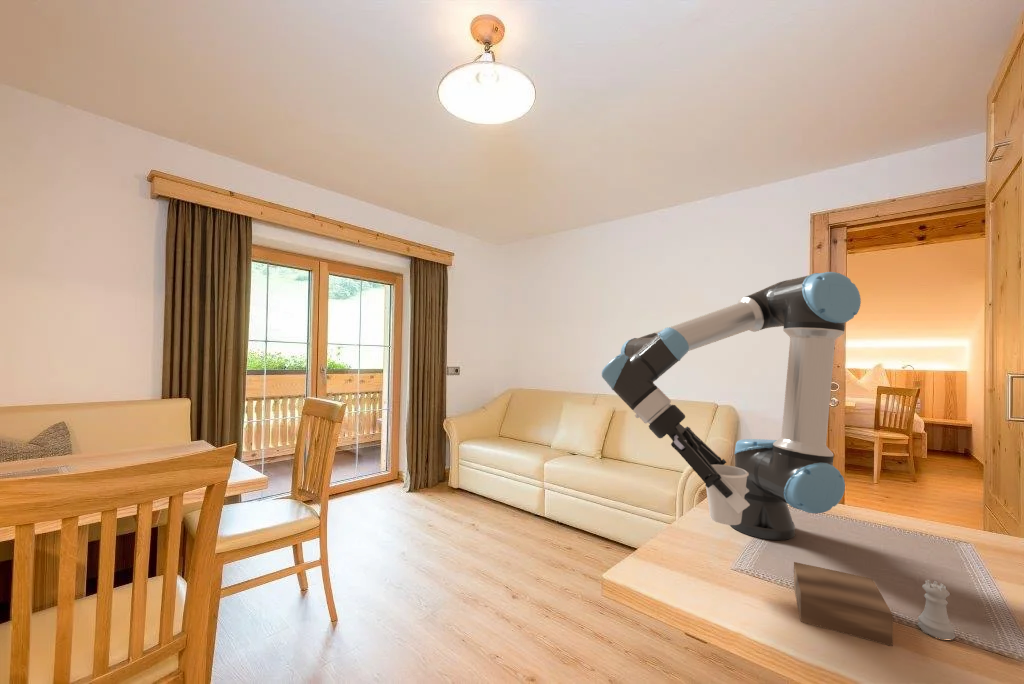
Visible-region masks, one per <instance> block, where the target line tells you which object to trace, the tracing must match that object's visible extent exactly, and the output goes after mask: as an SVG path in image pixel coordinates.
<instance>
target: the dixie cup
mask: <svg viewBox="0 0 1024 684" xmlns="http://www.w3.org/2000/svg"><path fill="white" fill-rule="evenodd" d="M712 467H713V468H714V469H715V470H716V471H717V473H718V474H719V475H720V476H721V477H722V476H723V477H724V478H725V479H726V480H727V481H728V482H729V483H730V484H731V485H732V486H733V487H734V488H735V489H736V491H737V492H738V493H739V494H740V495H741V496H742V497H743V498H744V496H745V489H746V482H747V476H748V475H749V473H748V472H747V471H746V470H744V469H741V468H738V467H735V465H734V466H733V465H728V464H724V465H717V464H713V465H712ZM710 475H711V474H710ZM705 489H706V497H707V505H708V513H709V518H710V519H711V520H712V521H713V522H715V523H718V524H722V525H727V526H730V525H738V524H740V523H741V519H742V511H741V512H740V513H739V514H738V513H737V512H736V511H735V510H734V509H733V508H732V507H731V506H730V504H729V503H728V502H727V501H726V500H725V499H724V498H723V497H722V496H721V495H720V494H719V493H718V492H717V491H716V490H715V489H714V488H713V487H712V486H710V487H709V488H708V487H706V486H705Z"/></svg>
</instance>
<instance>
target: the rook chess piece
mask: <svg viewBox="0 0 1024 684" xmlns="http://www.w3.org/2000/svg"><path fill="white" fill-rule="evenodd" d="M924 582H925V583H923V584H922V589H923V590H924V591H925V594H923V596H924V598H925V604H924V609H923V611H922V612H921V614H919V615H918V619H917V620H918V622H917V626H918V627H919V629H920V628H921V629H920V630H921V631H922V632H923V631H924V633H925V634H926V633H927V634H926V635H928V634H929V635H928V636H930V635H931V636H930V637H932V636H934V637H937V638H940V639H939V640H941V639H952V640H954V639H955V638H956V634H955V626H953V624H952V622H951V620H950V619H949V616H948V612H947V611H948V610H947V605H948V604H949V602H948V601H947V600H946V599H947V597H949V596H950V594H951V593H950V592H949V590H948V588H947V586H946V585H945V584H944V583H940V584H939V582H938V581H937V580H933V583H932V580H931V579H926V580H925V581H924ZM934 637H933V638H934ZM937 638H936V639H937Z"/></svg>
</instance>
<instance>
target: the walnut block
mask: <svg viewBox="0 0 1024 684" xmlns="http://www.w3.org/2000/svg"><path fill="white" fill-rule="evenodd" d="M793 590H794V594H795V600H796V604H797V605H796V606H797V609H798V614H799V618H800V622H801V623H805V624H808V625H812V626H816V627H819V628H822V629H826V630H830V631H835V632H838V633H841V634H846V635H848V636H853V637H857V638H861V639H864V640H869V641H871V642H875V643H880V644H882V645H887V646H891V647H893V645H894V644H893V642H894V641H893V639H894V638H893V636H894V634H893V626H894V625H893V623H894V622H893V621H894V620H893V613H892V611H891V609H890V607H889V606H888V604H887V601H886V600H885V598H884V596H883V594H882V593H881V591H880V589H879V588H878V585H876V583H875V581H874V578H872V577H867V576H863V575H858V574H852V573H849V572H843V571H839V570H833V569H830V568H829V569H828V568H825V567H821V566H820V567H819V566H815V565H810V564H806V563H800V562H796V561H793Z"/></svg>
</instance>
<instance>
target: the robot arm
mask: <svg viewBox="0 0 1024 684" xmlns="http://www.w3.org/2000/svg"><path fill="white" fill-rule="evenodd" d="M861 301H862V299H861V295H860V291H859V288H858V287H857V285H856V284H855V283H854V282H852V280H851V278H849V277H848V276H846V275H844V274H842V273H839V272H835V271H825V272H824V271H823V272H814V273H812V274H808V275H806V276H800V277H796V278H792V279H786V280H783V281H779V282H776V283H775V284H774V283H773V284H772V285H770V286H767V287H765V288H763V289H761V290H758V291H756V292H754V293H752V294H748V295H746V296H744V297H741V298H739V300H738V302H737V303H734V304H732V305H730V306H727V307H723V308H721V309H718V310H715V311H712V312H709V313H707V314H704V315H700V316H698V317H695V318H692V319H689V320H686V321H684V322H680V323H677V324H674V325H671V326H669V327H665V328H664V329H663V328H662V329H660V330H658V331H654V332H652V333H650V334H647V335H644V336H641V337H634V338H631V339H628V340H627V341H625V342H624V343H623V344H622V346H621V348H620V354H618V355H616V356H615V357H613V358H611V360H609V362H607V364H606V365H605V366H603V369H602V370H601V378H602V379H603V380H604V381H605V382H606V383H607V385H608V386H609V388H611V390H612V391H613V392H614V393H615V394H617V396H618V397H619V398H620V399H621V400H622V401H623V402H624V403H625V404H626V405H627V406H628V407H629V408H630V409H631V410H632V412H634V413H635V415H634V417H635V418H636V419H640V420H641V421H642V422H643V423H644V424H649V425H648V429H649V430H650V431H651V432H652V433H653V434H654V435H655V437H657V439H663V438H664V437H665V436H666V435H667V436H668V437H669V438H670V439H671V441H672V442H671V444H670V446H671V447H672V448H673V449H674V450H675V451H676V452H677V453H678V454H679V455H680V456H681V457H682V458H683V460H685V462H686V463H687V464H688V465H689V466H690V467H691V469H692V470H693V471H694V472H695V473H696V474H697V476H698V477H700V479H701V480H702V481H703V482H704V484H705V485H704V486H705V488H706V487H708V488H709V487H710V486H712V487H713V488H714V489H715V490H716V491H717V492H718V493H719V494H720V495H721V496H722V497H723V498H724V499H725V500H726V501H727V502H728V503H729V504H730V506H731V507H732V508H733V509H734V510H735V511H736V512H737V513H738V514H739V513H740V512H741V511H742V519H741V523H740V524H738V525H729V526H730V527H731V528H732V529H734V530H736V531H738V532H740V533H741V534H744V535H748V536H751V537H755V538H760V539H762V540H763V539H765V540H773V541H777V540H778V541H784V540H785V541H786V540H790V539H792V538H794V537H795V535H796V525H795V523H794V521H793V517H792V515H791V511H790V508H789V506H790V507H792V508H794V509H796V510H800V511H802V512H805V513H807V514H814V515H815V514H823V513H826V512H829V511H831V510H832V508H833V507H836V506H837V505H838V504H839V503H840V502H841V500H842V499H843V497H844V494H845V490H846V483H845V478H844V476H843V475H842V474H841V471H840V470H839V469H838V468H836V467H835V466H834V453H833V451H831V450H830V448H829V447H828V446H827V438H828V437H827V436H828V428H829V427H828V426H829V417H830V416H829V415H830V406H831V405H830V402H831V391H832V381H833V379H832V378H833V372H834V371H833V370H834V368H833V367H834V357H835V344H836V340H837V339H839V338H840V337H841V336H842V335H844V334H845V328H846V323H847V322H849V321H850V320H852V319H854V317H855V316H857V315H858V314H859V313H858V312H859V310H860V308H861V303H862V302H861ZM778 327H783V332H784V333H785V334H786V335H787V336H789V337H788V338H789V347H788V349H789V350H788V358H787V371H786V381H785V383H786V384H785V393H784V404H783V415H782V426H781V437H780V438H779V439H778V440H776V439H761V438H759V439H758V438H754V439H753V438H744V439H738V440H737V441H736V443H735V449H734V467H738V468H741V469H744V470H746V471H747V472H748V473H749V475H748V476H747V482H746V489H745V496H744V498H743V497H742V496H741V495H740V494H739V493H738V492H737V491H736V489H735V488H734V487H733V486H732V485H731V484H730V483H729V482H728V481H727V480H726V479H725V478H724V477H723V476H722V477H721V476H720V475H719V474H718V473H717V471H716V470H715V469H714V468H713V467H712V465H713V464H717V465H726V464H727V461H726V459H724V458H721V457H720V456H719V455H718V454H717V453H716V452H715V451H714V450H712V449H711V448H710V447H709V446H708V445H707V444H706V443H705V442H704V441H703V440H702V439H701V438H700V437H699V436H697V434H695V433H694V431H693V430H692V429H691V427H690V426H686V427H684V426H683V425H682V424H681V422H682V421H684V419H685V418H686V415H685V413H684V412H683V411H682V410H681V409H680V408H679V407H677V405H675V404H671V403H672V400H671V399H670V398H669V397H668V396H667V395H666V394H665V393H664V391H662V390H661V389H660V388H659V387H658V386H657V385H656V384H655V383H654V382H655V381H657V380H658V379H659V378H661V376H663V375H664V374H665V373H666V372H667V371H668V370H670V369H672V367H674V365H676V364H677V363H678V362H680V361H681V359H683V358H684V356H686V354H688V352H690V351H693V350H695V349H696V350H697V349H699V348H702V347H704V346H705V347H706V346H707V345H711V344H712V343H717V342H719V341H721V340H724V339H727V338H730V337H733V336H735V335H739V334H741V333H745V332H747V331H751V332H754V333H755V332H759V331H763V330H765V329H770V328H778ZM710 474H711V475H710Z"/></svg>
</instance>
